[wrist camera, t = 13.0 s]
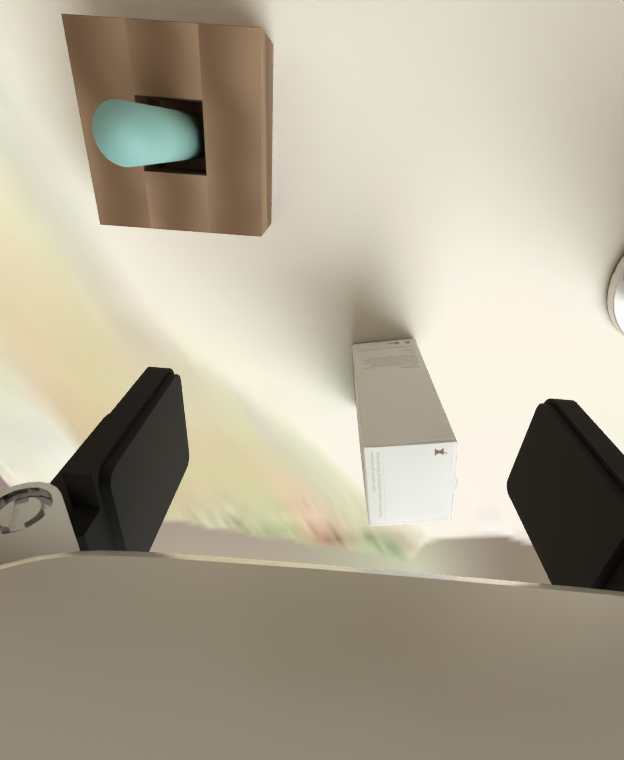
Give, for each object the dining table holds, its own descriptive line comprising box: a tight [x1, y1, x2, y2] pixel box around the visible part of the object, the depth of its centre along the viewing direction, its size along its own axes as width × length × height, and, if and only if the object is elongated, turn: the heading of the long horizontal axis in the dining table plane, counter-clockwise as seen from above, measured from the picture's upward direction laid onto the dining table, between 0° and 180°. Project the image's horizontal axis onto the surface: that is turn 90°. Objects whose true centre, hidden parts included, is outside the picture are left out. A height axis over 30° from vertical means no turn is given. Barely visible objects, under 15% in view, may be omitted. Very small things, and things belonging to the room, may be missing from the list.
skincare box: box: [352, 339, 457, 526], centre depth 36 cm, size 8×7×16 cm
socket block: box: [62, 14, 273, 236], centre depth 30 cm, size 12×12×6 cm
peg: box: [92, 99, 206, 167], centre depth 27 cm, size 3×3×12 cm
